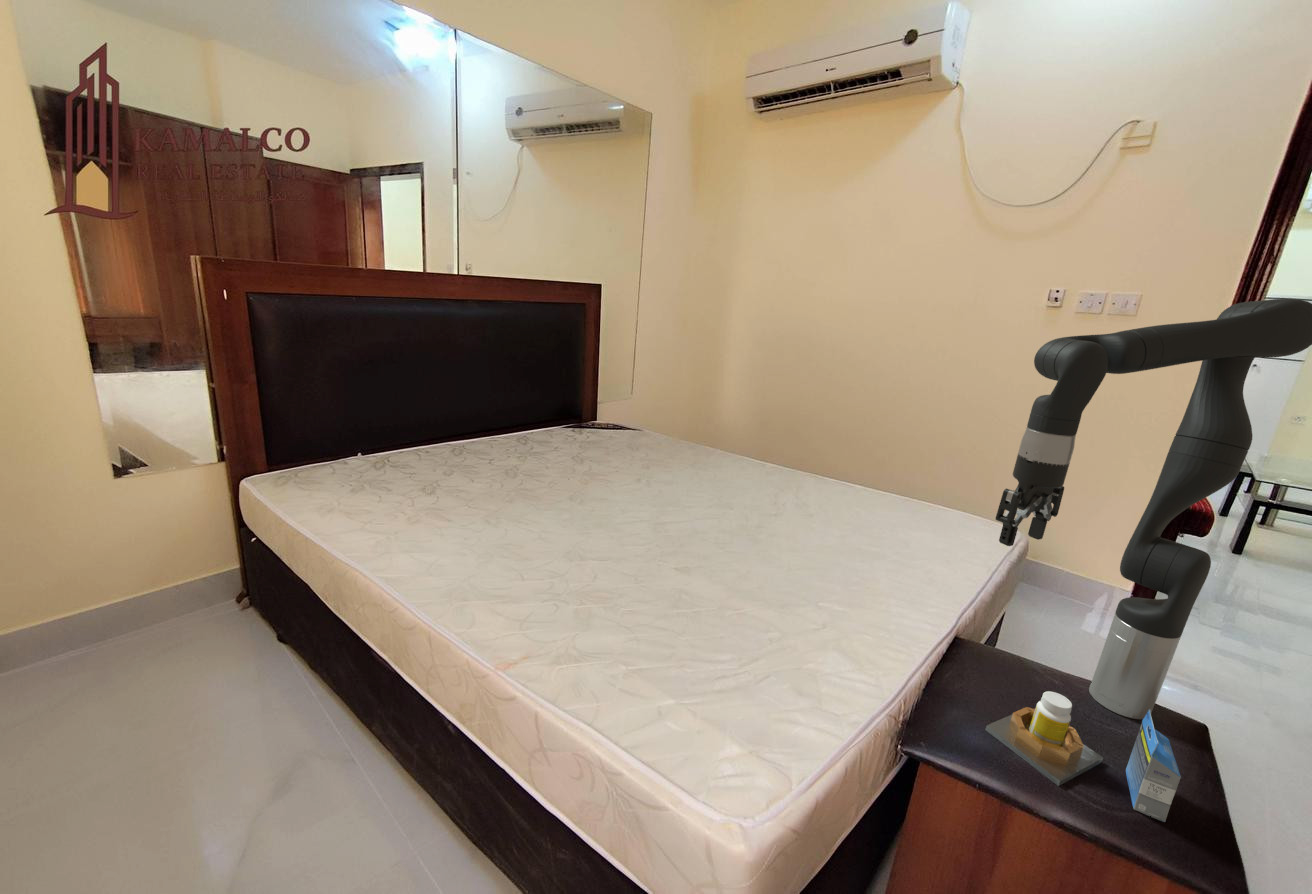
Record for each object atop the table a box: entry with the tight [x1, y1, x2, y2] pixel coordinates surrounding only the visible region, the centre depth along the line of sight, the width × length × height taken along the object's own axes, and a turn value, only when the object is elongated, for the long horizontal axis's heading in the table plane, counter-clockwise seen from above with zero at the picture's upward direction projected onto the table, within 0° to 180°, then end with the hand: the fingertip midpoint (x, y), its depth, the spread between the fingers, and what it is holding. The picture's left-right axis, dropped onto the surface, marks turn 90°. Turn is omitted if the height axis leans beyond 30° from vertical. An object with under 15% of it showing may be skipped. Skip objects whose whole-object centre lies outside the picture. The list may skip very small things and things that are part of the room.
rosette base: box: [985, 706, 1104, 787], centre depth 92 cm, size 12×12×4 cm
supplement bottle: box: [1029, 690, 1073, 747], centre depth 91 cm, size 5×5×8 cm
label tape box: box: [1125, 709, 1182, 823], centre depth 83 cm, size 9×4×12 cm, turn 146°
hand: (1020, 541), depth 99 cm, fingers open, 8 cm apart
